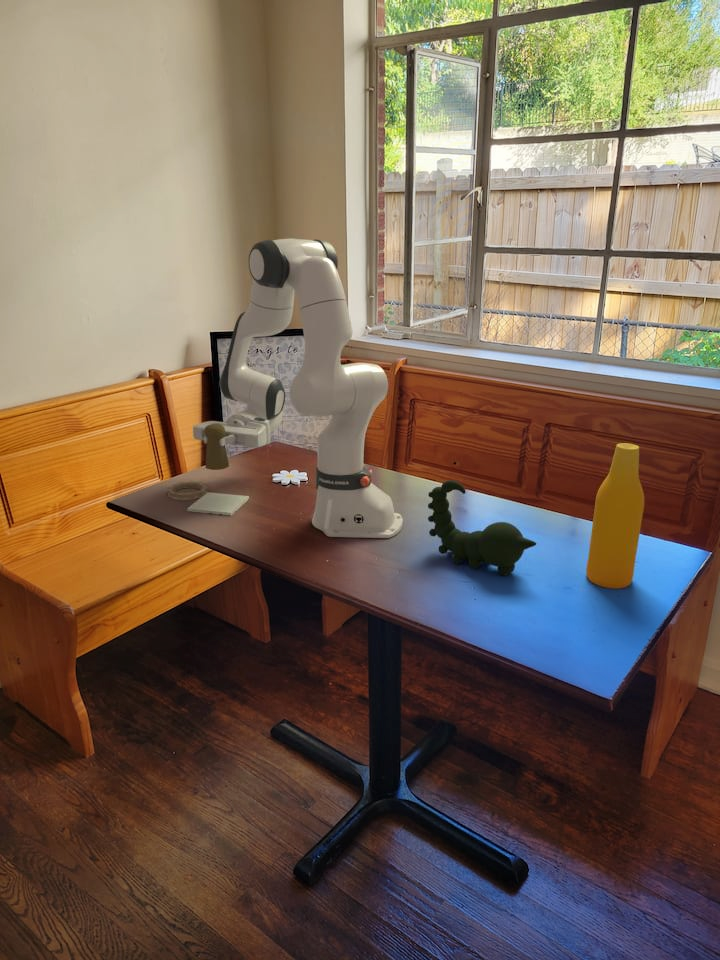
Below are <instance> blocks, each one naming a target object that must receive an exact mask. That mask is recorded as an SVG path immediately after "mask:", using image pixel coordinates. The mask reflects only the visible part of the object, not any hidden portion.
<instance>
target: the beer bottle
mask: <svg viewBox="0 0 720 960" xmlns="http://www.w3.org/2000/svg"><path fill="white" fill-rule="evenodd" d="M613 453H614V454H613V457H612V462H611V464H610V469H609V472H608V474H607V476H606V477H605V479H604V480H603V481H602V484H601V485H600V487H599V488H598V491H597V493H596V497H595V503H594V509H593V510H594V512H593V519H592V527H591V534H590V540H589V541H590V542H589V550H588V556H587V561H586V562H587V563H586V571H585V573H586V576H587V579H588V580H589V581H590V582H591V583H593V584H594V585H596V586H599V587H603V588H606V589H612V590H613V589H624V588H627V587H628V586H630V585H631V584H632V581H633V578H634V573H635V565H636V559H637V552H638V547H639V539H640V532H641V529H642V528H641V526H642V521H643V515H644V508H645V494H644V489H643V487H642V483H641V481H640V478H639V477H640V475H639V472H640V471H639V469H640V467H639V466H640V464H639V463H640V446H639V445H636V444H633V443H627V442H624V443H623V442H622V443H617V444H616V446H615V450H614V452H613Z"/></svg>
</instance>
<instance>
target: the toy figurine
mask: <svg viewBox="0 0 720 960" xmlns="http://www.w3.org/2000/svg"><path fill="white" fill-rule="evenodd" d="M455 490H456V491H458V492H460V493H462V495H464V494H466V489H465V487H464V485H463V484H462V483H460V482H459V481H457V480H454V479H449V480H446V481H444V482H442V484H441V486H436V487H434V488H433V489H432V490H431V491H429V492H428V497H429V498H431V499H432V501H431V502H429V503H428V505H427V507H428V508H427V509H429V510H432V511H433V512H432V515H429V516H428V517H427V520H428V522H429V523H434V528H431V529H429V531H428V532H429V533H428V534H429V535H430V537H436V536H437V537H438V538H439V539H440V540H441V541H440V543H441V545H439V546H438V553H440V554H441V555H444V554H447V553H448V551H449V552H451V554H452V555H453V557H452V562H453V563H454V564H457V565H458V564H459V565H460V564H461V563H462V562H463V561H467V560H468V564H469V567H470V568H473V569H477V568H480V567H481V565H482V563H485V562H487V563H488V564H489V565H491V566H494V567H497V572H498V573H499V574H500V575H502V576H508V575H509V576H510V574H512V573H513V572H514V571H515V568H516V565H515V564H516V563H517V562H519V561H520V559H521V558H522V556H523V554H524V551H526V550H527V549H529V548H533V547H534V546H536V545H537V542H535V540H531V539H528V538H526V537H524V536H523V534H522V532H521V531H520V529H519V528H517V527H516V526H515V525H514V524H511V523H510V522H505V521H498V522H493V523H491V524H489V525H487V526H486V527H485V528H484V529H483V530H475V531H472V532H468V531H461V530H460V529H458V528H457V527H456V525H455V523H454V522H453V520H452V513H451V511H450V510H449V508H450V501H449V500H448V499H447V497H448V494H449V493H451V492H452V491H455Z"/></svg>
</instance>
